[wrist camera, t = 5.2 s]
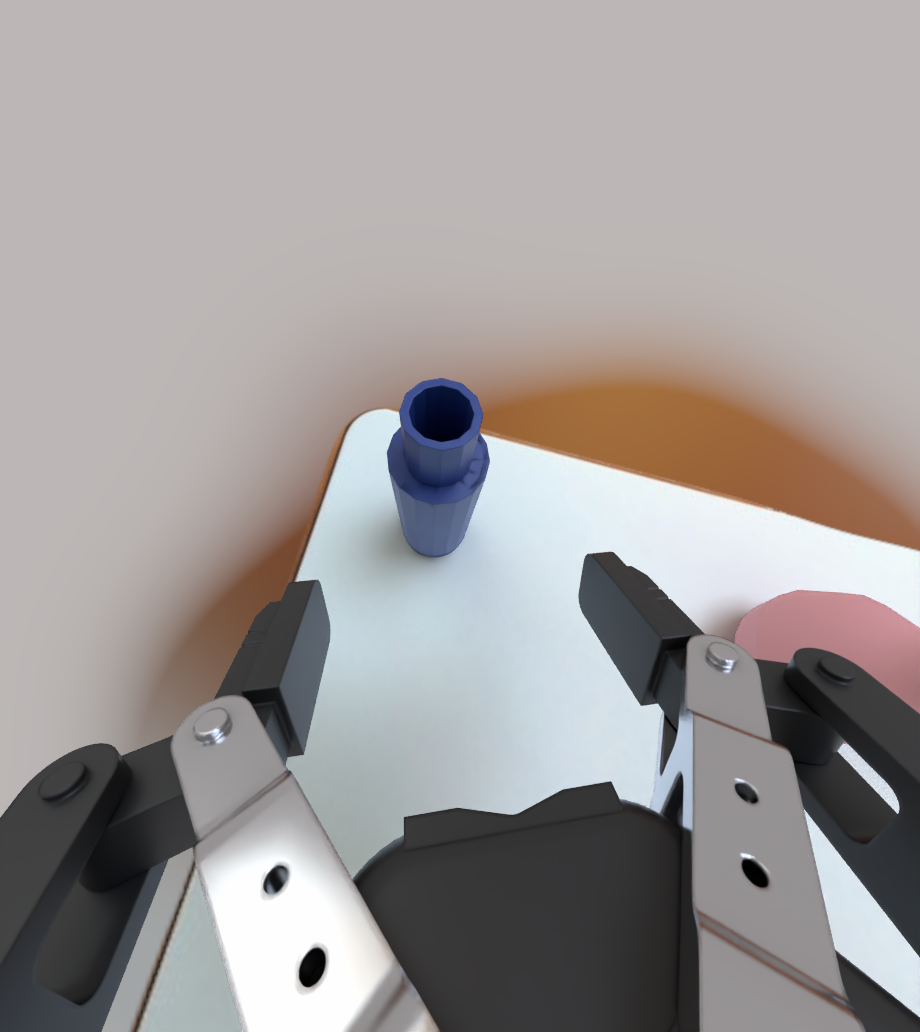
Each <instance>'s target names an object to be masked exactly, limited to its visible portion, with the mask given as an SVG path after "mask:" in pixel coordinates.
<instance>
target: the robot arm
mask: <svg viewBox="0 0 920 1032" xmlns="http://www.w3.org/2000/svg"><path fill="white" fill-rule="evenodd" d="M579 604H580V608H581V610H582V613H583V614H584V616H585V618H586V619H587V621H588V622H589V624H590V626H591V627H592V629H593V630H594V632H595V634H596V635H597V637H598V638H599V640H600V642H601V643H602V645H603V646H604V648H605V649H606V651H607V653H608V654H609V656H610V657H611V659H612V661H613V662H614V664H615V665H616V667H617V669H618V670H619V672H620V673H621V675H622V677H623V678H624V680H625V681H626V683H627V685H628V686H629V688H630V689H631V691H632V692H633V694H634V696H635V697H636V699H637V700H638V702H639V704H640V705H641V706H643V705H650V704H657V703H658V704H659V706H660V707H661V709H662V710H663V712H662V715H661V718H660V728H659V739H658V751H657V763H656V774H655V785H654V791H653V796H652V800H651V804H650V808H647V807H645V806H642V805H640V804H637V803H634V802H630V801H627V800H622V799H619V797H618V795H617V793H616V791H615V789H614V786H613V784H612V782H611V781H610V782H605V783H599V784H593V785H587V786H581V787H576V788H570V789H564V790H561V791H559V792H558V793H556V794H554V795H552V796H550V797H548V798H546V799H545V800H543V801H541V802H539V803H537V804H535V805H533V806H532V807H530V808H528V809H526V810H524V811H522V812H521V813H518V814H515V815H507V814H499V813H492V812H484V811H477V810H469V809H462V808H454V809H448V810H442V811H437V812H431V813H425V814H419V815H413V816H408V817H404V836H402V837H400V838H398V839H396V840H394V841H393V842H391V843H390V844H388V845H387V846H386V847H384V848H383V849H381V850H380V851H379V852H378V853H377V854H376V855H375V856H373V857H372V858H371V859H370V860H369V861H368V862H367V863H366V864H365V865H364V866H363V868H362V869H361V870H360V871H359V872H358V873H357V874H356V876H355V877H354V878H353V880H352V878H351V877H350V875H349V873H348V871H347V870H346V868H345V866H344V864H343V862H342V861H341V859H340V857H339V855H338V853H337V852H336V850H335V848H334V846H333V845H332V843H331V841H330V839H329V837H328V836H327V834H326V832H325V830H324V829H323V827H322V825H321V823H320V821H319V820H318V818H317V816H316V814H315V812H314V811H313V809H312V807H311V805H310V804H309V802H308V800H307V798H306V796H305V795H304V793H303V791H302V789H301V788H300V786H299V784H298V782H297V780H296V779H295V777H294V775H293V774H292V772H291V771H290V770H289V771H288V769H287V768H286V766H285V765H286V761H287V757H292V756H298V755H304V751H305V746H306V742H307V738H308V733H309V729H310V725H311V720H312V716H313V712H314V707H315V703H316V699H317V694H318V690H319V685H320V681H321V677H322V672H323V668H324V664H325V659H326V655H327V651H328V646H329V642H330V621H329V617H328V613H327V609H326V604H325V600H324V596H323V592H322V588H321V584H320V582H319V581H318V580H310V581H299V582H290V583H289V584H288V586H287V588H286V590H285V593H284V595H283V597H282V600H281V601H279V602H270V603H269V604H268V605H267V606H266V607H265V608H264V609H263V610H262V611H261V612H260V613H259V614H258V615H257V616H256V617H255V619H254V621H253V623H252V625H251V627H250V629H249V631H248V635H246V637H245V639H244V641H243V643H242V648H240V649H239V651H238V653H237V655H236V657H235V659H234V661H233V663H232V665H231V667H230V669H229V671H228V673H227V675H226V677H225V679H224V681H223V683H222V685H221V687H220V689H219V691H218V693H217V695H216V697H215V699H214V700H211V701H209V702H207V703H205V704H204V705H202V706H200V707H199V708H197V709H196V710H195V711H193V712H192V713H191V714H190V715H189V716H188V717H186V718H185V719H184V721H183V722H182V723H181V724H180V725H179V727H178V728H177V730H176V731H175V733H174V735H172V736H170V737H168V738H166V739H163V740H161V741H159V742H156V743H153V744H150V745H148V746H145V747H143V748H141V749H138V750H136V751H133V752H130V753H128V754H125V755H123V756H121V755H120V754H119V753H118V751H117V750H116V748H115V747H113V746H112V745H109V744H102V743H100V744H93V745H89V746H85V747H82V748H79V749H77V750H74V751H72V752H70V753H68V754H66V755H64V756H63V757H61V758H59V759H58V760H56V761H54V762H53V763H51V764H50V765H49V766H47V767H46V768H45V769H43V770H42V771H41V772H40V773H38V774H37V775H36V776H35V777H34V778H33V779H32V780H31V781H30V782H29V783H28V784H27V785H26V786H25V787H24V788H23V789H22V791H21V792H20V793H19V794H18V795H17V797H16V798H15V799H14V801H13V802H12V803H11V805H10V806H9V807H8V809H7V810H6V811H5V813H4V814H3V815H2V816H1V818H0V1032H101V1031H102V1029H103V1026H104V1023H105V1021H106V1018H107V1015H108V1013H109V1011H110V1008H111V1006H112V1002H113V1000H114V998H115V995H116V992H117V990H118V988H119V985H120V982H121V980H122V977H123V975H124V972H125V969H126V967H127V964H128V962H129V959H130V957H131V954H132V951H133V949H134V946H135V944H136V941H137V939H138V936H139V934H140V931H141V928H142V925H143V923H144V921H145V918H146V916H147V913H148V910H149V908H150V905H151V903H152V900H153V897H154V895H155V893H156V890H157V887H158V885H159V882H160V880H161V877H162V875H163V872H164V869H165V867H166V864H167V862H168V859H169V858H171V857H173V856H175V855H177V854H179V853H181V852H183V851H185V850H187V849H189V848H191V847H193V855H194V860H195V864H196V868H197V871H198V875H199V878H200V882H201V885H202V889H203V892H204V896H205V900H206V903H207V907H208V910H209V914H210V917H211V921H212V924H213V928H214V931H215V935H216V939H217V942H218V946H219V949H220V953H221V956H222V960H223V963H224V967H225V970H226V974H227V977H228V981H229V985H230V988H231V992H232V995H233V999H234V1002H235V1006H236V1009H237V1013H238V1016H239V1020H240V1024H241V1027H242V1031H243V1032H920V1017H919V1016H917V1015H916V1014H915V1013H914V1012H912V1011H911V1010H910V1009H909V1008H907V1007H906V1006H905V1005H904V1004H902V1003H901V1002H900V1001H899V1000H897V999H896V998H895V997H894V996H892V995H891V994H890V993H889V992H887V991H886V990H885V989H884V988H882V987H881V986H880V985H879V984H877V983H876V982H875V981H874V980H872V979H871V978H870V977H869V976H867V975H866V974H865V973H864V972H862V971H861V970H860V969H859V968H857V967H856V966H855V965H854V964H852V963H851V962H850V961H849V960H847V959H846V958H845V957H843V956H842V955H841V954H840V953H838V952H837V951H836V950H835V948H834V943H833V939H832V934H831V930H830V925H829V921H828V916H827V912H826V907H825V903H824V898H823V894H822V889H821V885H820V880H819V876H818V871H817V867H816V862H815V858H814V853H813V849H812V844H811V840H810V835H809V831H808V826H807V822H806V817H805V813H804V809H805V810H806V812H807V813H808V814H809V816H810V817H811V818H812V819H813V821H814V822H815V823H816V825H817V826H818V827H819V828H820V830H821V831H822V832H823V834H824V835H825V836H826V837H827V839H828V840H829V841H830V843H831V844H832V845H833V846H834V848H835V849H836V850H837V852H838V853H839V854H840V855H841V857H842V858H843V859H844V861H845V862H846V863H847V864H848V866H849V867H850V868H851V870H852V871H853V872H854V873H855V875H856V876H857V877H858V879H859V880H860V881H861V882H862V884H863V885H864V886H865V888H866V889H867V890H868V891H869V893H870V894H871V895H872V897H873V898H874V899H875V900H876V902H877V903H878V904H879V906H880V907H881V908H882V909H883V911H884V912H885V913H886V915H887V916H888V917H889V918H890V920H891V921H892V922H893V924H894V925H895V926H896V927H897V929H898V930H899V931H900V933H901V934H902V935H903V936H904V938H905V939H906V940H907V942H908V943H909V944H910V945H911V947H912V948H913V949H914V951H915V952H916V953H917V954H918V956H919V957H920V714H919V713H918V712H917V711H916V710H914V709H913V708H912V707H910V706H909V705H908V704H907V703H905V702H904V701H903V700H902V699H900V698H899V697H898V696H897V695H895V694H894V693H893V692H891V691H890V690H889V689H888V688H886V687H885V686H884V685H883V684H881V683H880V682H879V681H878V680H876V679H875V678H874V677H873V676H871V675H870V674H869V673H867V672H866V671H865V670H864V669H862V668H861V667H859V666H858V665H857V664H855V663H853V662H852V661H850V660H848V659H846V658H844V657H842V656H840V655H837V654H835V653H832V652H829V651H826V650H822V649H817V648H801V649H799V650H797V651H796V652H795V653H794V655H793V657H792V658H791V660H790V662H789V663H783V662H776V661H769V660H761V659H754V658H753V657H752V656H751V655H750V654H749V653H748V652H747V651H746V650H744V649H743V648H742V647H740V646H739V645H737V644H735V643H734V642H732V641H729V640H727V639H725V638H722V637H718V636H714V635H706V634H704V633H703V632H702V631H701V630H700V629H699V628H698V627H697V626H696V625H695V624H694V623H693V622H692V620H691V619H690V618H689V617H688V616H687V615H686V614H685V613H684V612H683V611H682V610H681V609H680V608H679V607H678V606H677V605H676V604H675V603H674V602H673V601H672V600H671V599H668V596H667V595H666V594H665V593H664V592H663V591H662V590H661V589H659V587H658V586H657V585H656V584H655V583H654V582H653V581H652V580H651V579H650V578H649V577H648V576H647V575H646V574H644V573H642V572H641V571H639V570H637V569H635V568H634V567H632V566H626V565H625V564H624V563H623V562H622V561H621V559H620V558H619V557H618V556H617V555H616V554H615V553H613V552H603V553H593V554H587V555H586V556H585V559H584V564H583V570H582V576H581V582H580V588H579ZM844 741H846V742H847V743H848V744H849V745H850V746H851V747H852V748H853V749H854V750H855V751H856V752H857V753H858V754H859V755H860V756H861V757H862V758H863V759H864V760H865V761H866V762H867V763H868V764H869V765H870V766H871V767H872V768H873V769H874V770H875V771H876V772H877V773H878V774H879V775H880V776H881V777H882V778H883V779H884V780H885V781H886V782H887V783H888V785H889V786H890V787H891V788H892V790H893V791H894V793H895V795H896V797H897V799H898V802H899V806H900V810H899V813H898V814H897V813H896V812H895V811H894V810H893V809H892V808H891V807H890V806H889V805H888V804H887V803H886V802H885V801H884V799H883V798H882V797H881V796H880V795H879V794H878V793H877V792H876V791H875V790H874V789H873V788H872V787H871V786H870V785H869V784H868V783H867V782H866V781H865V780H864V779H863V778H862V777H861V776H860V775H859V773H858V772H857V771H856V770H855V769H854V768H853V767H852V766H851V765H850V764H849V763H848V762H847V761H846V760H845V759H844V758H843V757H842V756H841V755H840V754H839V753H838V752H837V751H838V749H839V748H840V747H841V745H842V744H843V743H844Z"/></svg>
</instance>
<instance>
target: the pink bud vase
mask: <svg viewBox="0 0 920 1032" xmlns="http://www.w3.org/2000/svg"><path fill="white" fill-rule="evenodd" d="M734 643H735V644H737V645H739V646H740V647H742V648H743V649H744V650H746V651H747V652H748V653H749V654H750V655H751V656H752V657H753V658H754V659H761V660H769V661H776V662H783V663H789V662H790V660H791V658H792V657H793V655H794V653H795V652H796V651H797V650H799V649H801V648H817V649H822V650H826V651H829V652H832V653H835V654H837V655H840V656H842V657H844V658H846V659H848V660H850V661H852V662H853V663H855V664H857V665H858V666H859V667H861V668H862V669H864V670H865V671H866V672H867V673H869V674H870V675H871V676H873V677H874V678H875V679H876V680H878V681H879V682H880V683H881V684H883V685H884V686H885V687H886V688H888V689H889V690H890V691H891V692H893V693H894V694H895V695H897V696H898V697H899V698H900V699H902V700H903V701H904V702H905V703H907V704H908V705H909V706H910V707H912V708H913V709H914V710H916V711H917V712H918V713H919V714H920V628H919V627H917V626H916V625H914V624H913V623H911V622H910V621H908V620H907V619H905V618H904V617H902V616H901V615H899V614H898V613H896V612H895V611H893V610H892V609H891V608H889V607H888V606H886V605H884V604H881V603H879V602H877V601H875V600H873V599H871V598H869V597H866V596H864V595H856V594H848V593H837V592H821V591H806V590H797V591H793V592H790V593H786V594H783V595H780V596H777V597H775V598H773V599H771V600H769V601H767V602H765V603H763V604H761V605H759V606H758V607H756V608H754V609H752V610H751V611H750V612H749V613H748V614H747V615H746V616H745V617H743V618H742V619H741V621H740V624H739V626H738V629H737V631H736V633H735V642H734ZM844 743H847V742H846V741H844ZM847 744H848V743H847Z"/></svg>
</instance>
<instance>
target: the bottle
mask: <svg viewBox="0 0 920 1032" xmlns="http://www.w3.org/2000/svg"><path fill="white" fill-rule="evenodd" d="M399 414H400V422H401V427H400V428H399V429H398V431H397V432H396V433H395V434H394V435H393V437H392V440H391V443H390V445H389V448H388V451H387V457H388V468H389V473H390V478H391V482H392V486H393V490H394V495H395V499H396V503H397V507H398V512H399V516H400V520H401V524H402V529H403V533H404V536H405V538H406V540H407V542H408V543H409V545H410V546H411V547H412V548H413V549H414V550H415V551H417V552H418V553H420V554H422V555H425V556H430V557H439V556H443V555H446V554H448V553H450V552H452V551H453V550H455V549H456V548H457V547H458V546H459V544H460V543H461V541H462V539H463V538H464V535H465V532H466V530H467V527H468V524H469V521H470V519H471V516H472V513H473V511H474V508H475V505H476V502H477V500H478V497H479V494H480V492H481V489H482V486H483V483H484V481H485V478H486V474H487V470H488V466H489V462H490V459H489V454H488V448H487V444H486V442H485V440H484V439H483V437H482V436H481V434H480V433H479V431H480V427H481V423H482V419H483V412H482V409H481V406H480V404H479V400H478V398H477V396H476V395H475V394H473V393H472V392H471V391H470V390H469V389H468V388H466V386H464V385H463V384H461V383H459V382H455V381H451V380H447V379H443V378H439V379H433V380H428V381H422V382H421V383H419V384H418V385H416V386H415V387H414V388H412V389H411V390H410V391H409V392H407V393H406V395H405V397H404V400H403V403H402V405H401V408H400V411H399Z"/></svg>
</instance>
